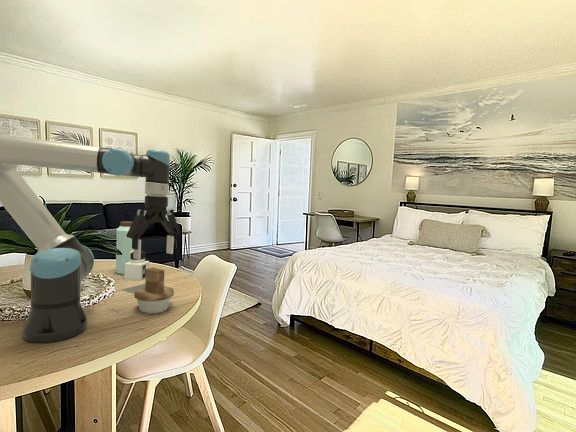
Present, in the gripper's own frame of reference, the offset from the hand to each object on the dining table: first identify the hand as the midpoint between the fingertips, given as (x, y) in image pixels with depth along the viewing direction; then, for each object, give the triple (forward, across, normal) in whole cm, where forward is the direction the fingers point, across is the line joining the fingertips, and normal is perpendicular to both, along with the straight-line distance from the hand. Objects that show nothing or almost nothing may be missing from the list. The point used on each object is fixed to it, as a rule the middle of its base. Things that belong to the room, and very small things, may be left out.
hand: (154, 256), depth 114 cm
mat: (+19, +12, +19) cm, 29 cm away
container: (+20, +20, +37) cm, 46 cm away
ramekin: (+20, 0, 0) cm, 20 cm away
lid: (+14, +1, 0) cm, 14 cm away
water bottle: (+20, +24, +48) cm, 57 cm away
